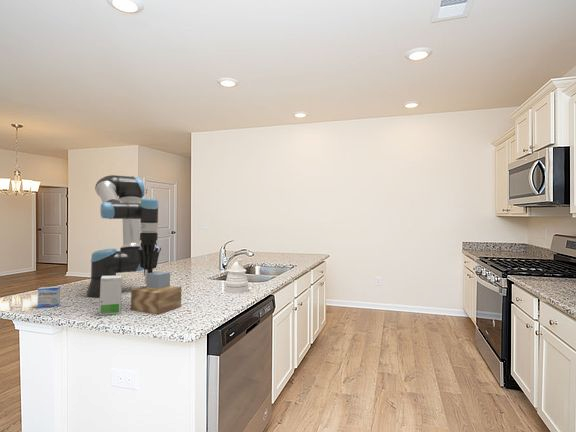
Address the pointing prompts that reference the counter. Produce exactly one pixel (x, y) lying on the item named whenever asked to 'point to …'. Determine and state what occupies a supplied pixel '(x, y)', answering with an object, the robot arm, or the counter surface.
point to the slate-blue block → (158, 280)
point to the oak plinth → (155, 299)
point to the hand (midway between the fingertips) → (148, 283)
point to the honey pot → (236, 279)
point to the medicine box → (48, 296)
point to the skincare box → (110, 295)
